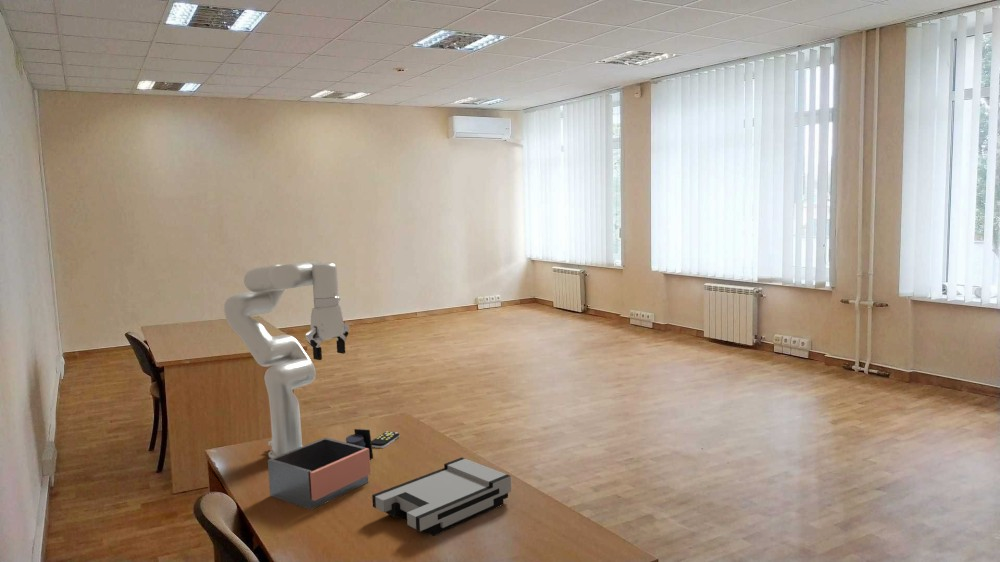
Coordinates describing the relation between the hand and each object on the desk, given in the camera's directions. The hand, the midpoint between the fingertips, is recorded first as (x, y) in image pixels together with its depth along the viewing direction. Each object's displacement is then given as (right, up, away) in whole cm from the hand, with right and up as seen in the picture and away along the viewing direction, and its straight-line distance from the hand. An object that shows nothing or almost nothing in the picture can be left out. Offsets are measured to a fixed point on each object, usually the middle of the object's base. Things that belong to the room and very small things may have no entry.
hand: (329, 356), depth 225 cm
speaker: (+7, -36, +10) cm, 38 cm away
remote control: (+13, -34, +28) cm, 46 cm away
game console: (+38, -40, -28) cm, 62 cm away
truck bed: (0, -39, -11) cm, 40 cm away
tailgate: (+7, -36, -17) cm, 40 cm away
